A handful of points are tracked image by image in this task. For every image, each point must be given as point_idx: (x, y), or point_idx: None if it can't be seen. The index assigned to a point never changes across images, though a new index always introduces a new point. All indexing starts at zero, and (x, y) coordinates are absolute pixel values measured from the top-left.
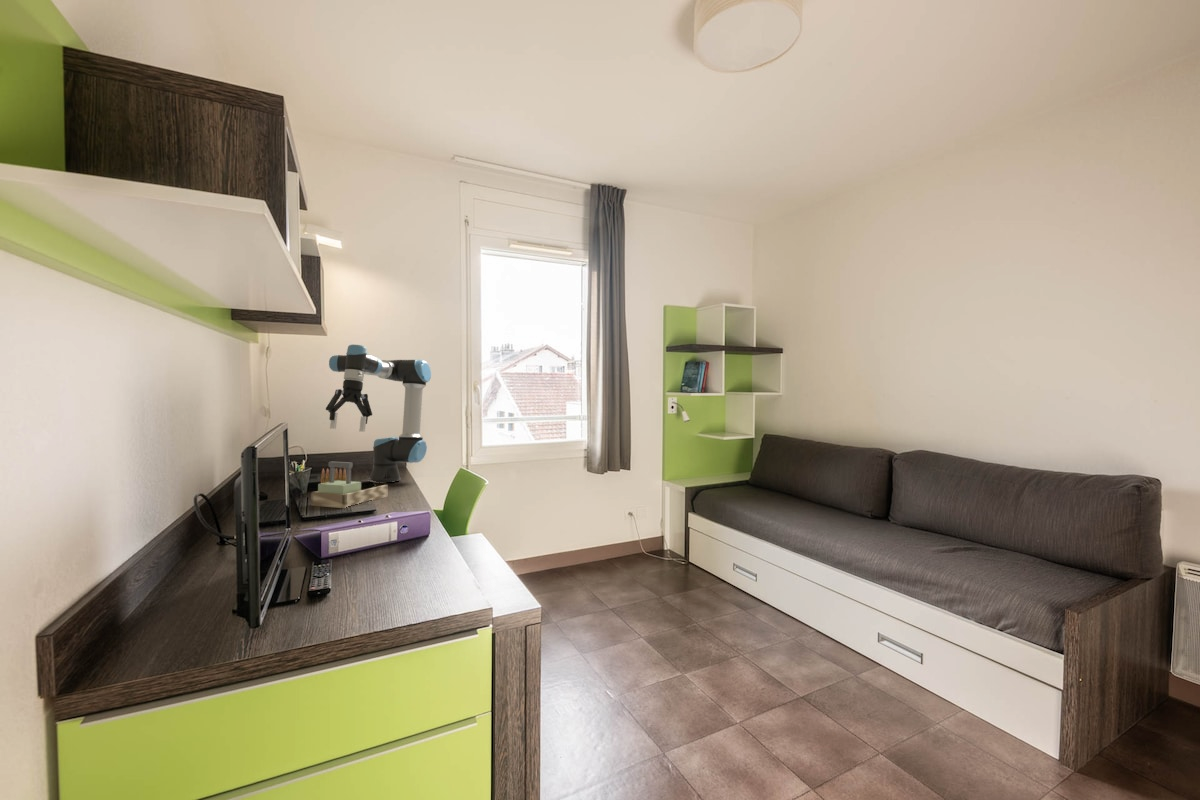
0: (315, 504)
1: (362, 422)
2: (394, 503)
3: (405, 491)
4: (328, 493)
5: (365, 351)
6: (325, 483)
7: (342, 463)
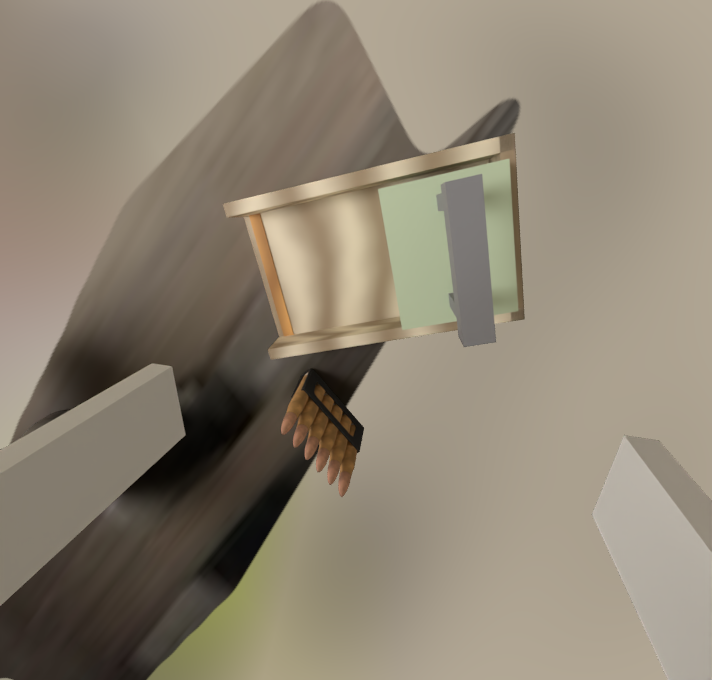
0: None
1: (63, 485)
2: (322, 38)
3: (136, 237)
4: (514, 235)
5: None
6: (493, 296)
7: (486, 232)
